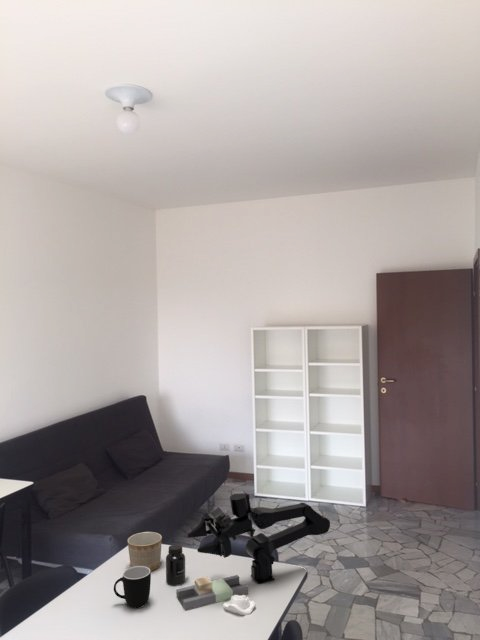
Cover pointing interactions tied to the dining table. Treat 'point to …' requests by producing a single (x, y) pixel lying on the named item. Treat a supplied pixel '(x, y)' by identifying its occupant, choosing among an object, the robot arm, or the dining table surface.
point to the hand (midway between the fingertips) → (192, 543)
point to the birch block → (203, 585)
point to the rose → (239, 605)
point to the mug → (135, 586)
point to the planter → (145, 549)
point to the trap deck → (211, 593)
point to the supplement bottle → (175, 565)
